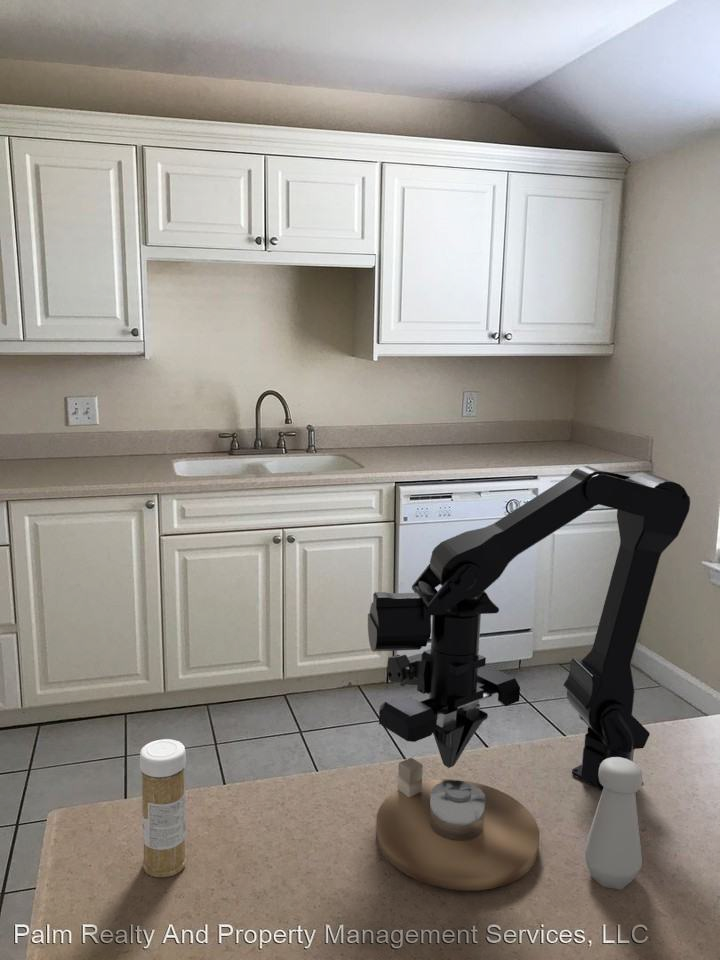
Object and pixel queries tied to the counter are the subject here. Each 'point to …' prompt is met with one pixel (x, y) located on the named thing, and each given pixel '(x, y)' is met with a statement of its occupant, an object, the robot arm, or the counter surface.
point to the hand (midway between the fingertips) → (448, 765)
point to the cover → (457, 810)
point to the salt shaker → (615, 826)
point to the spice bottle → (163, 807)
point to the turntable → (448, 862)
